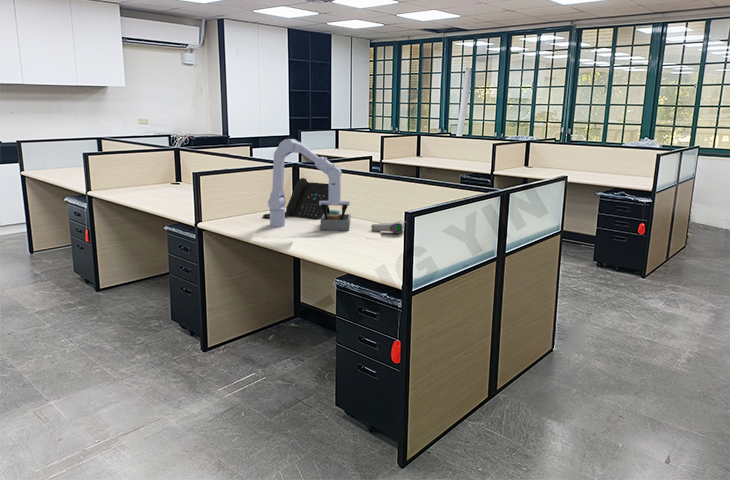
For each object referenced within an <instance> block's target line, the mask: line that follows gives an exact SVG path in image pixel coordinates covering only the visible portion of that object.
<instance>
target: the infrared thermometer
mask: <svg viewBox="0 0 730 480" xmlns="http://www.w3.org/2000/svg"><path fill="white" fill-rule="evenodd" d="M404 222H405V220H398V221H396V222H389V223H371V231H372V232H392V233H397V234H399V233H402V232H403V231H404V230H405V228H404Z"/></svg>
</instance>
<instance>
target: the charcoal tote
mask: <svg viewBox="0 0 730 480" xmlns="http://www.w3.org/2000/svg"><path fill="white" fill-rule="evenodd" d="M329 215H330V214H327V216H329ZM340 215H341V216H342V213H340ZM350 227H351V213H345V214H344V217H343V220H325V215H324V213H323V215H322V218H321V219H320V231H338V232H339V231H343V232H349V231H350Z"/></svg>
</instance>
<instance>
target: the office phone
mask: <svg viewBox="0 0 730 480" xmlns="http://www.w3.org/2000/svg"><path fill="white" fill-rule="evenodd" d="M319 201H329V183H324V182H312V181H311V182H310V181H307V178H305V177H302V178H298V181H297V183H296V184H295V186H294V188H293V191H292V193H291V196H290V198H289V201H288V203H287V206H286V210H285V218H287V217H291V218H292V217H293V218H303V219H311V220H321V218H322V216H323V214H324V212H323V210H322V208H321V205H319ZM327 214H330V205H327ZM262 218H264V219H266V220H267V219H270V213H264V214H263V216H262Z"/></svg>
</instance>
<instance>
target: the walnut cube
mask: <svg viewBox="0 0 730 480" xmlns="http://www.w3.org/2000/svg"><path fill="white" fill-rule="evenodd" d="M327 220H342V216H341V215H337V214H333V215H329V216H327Z"/></svg>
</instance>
